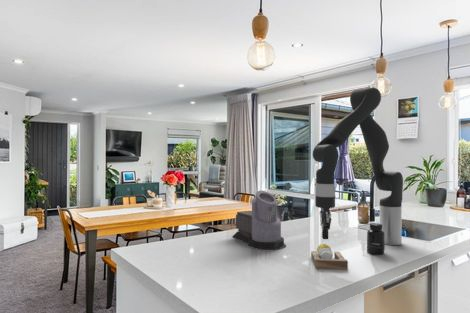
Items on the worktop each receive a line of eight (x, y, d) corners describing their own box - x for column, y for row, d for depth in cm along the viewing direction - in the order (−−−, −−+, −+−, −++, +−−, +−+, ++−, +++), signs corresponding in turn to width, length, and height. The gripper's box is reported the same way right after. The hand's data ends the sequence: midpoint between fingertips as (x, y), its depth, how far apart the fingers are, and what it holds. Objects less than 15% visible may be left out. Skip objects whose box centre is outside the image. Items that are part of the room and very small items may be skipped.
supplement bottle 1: (314, 252, 130) (316, 259, 120) (321, 240, 129) (323, 247, 120) (326, 259, 129) (329, 267, 120) (333, 248, 129) (336, 255, 119)
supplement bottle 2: (374, 255, 130) (374, 226, 130) (363, 251, 137) (363, 222, 137) (388, 254, 132) (388, 225, 132) (377, 249, 139) (376, 222, 139)
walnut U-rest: (311, 257, 129) (311, 249, 129) (339, 258, 127) (339, 250, 127) (316, 268, 115) (316, 260, 115) (347, 269, 114) (347, 261, 114)
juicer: (293, 247, 143) (293, 192, 144) (264, 252, 135) (264, 194, 135) (254, 233, 169) (254, 186, 169) (228, 237, 160) (228, 188, 160)
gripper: (338, 197, 121) (338, 243, 121) (331, 193, 134) (331, 235, 134) (317, 196, 122) (317, 242, 121) (313, 193, 135) (313, 234, 135)
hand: (325, 238), depth 128 cm, fingers closed
